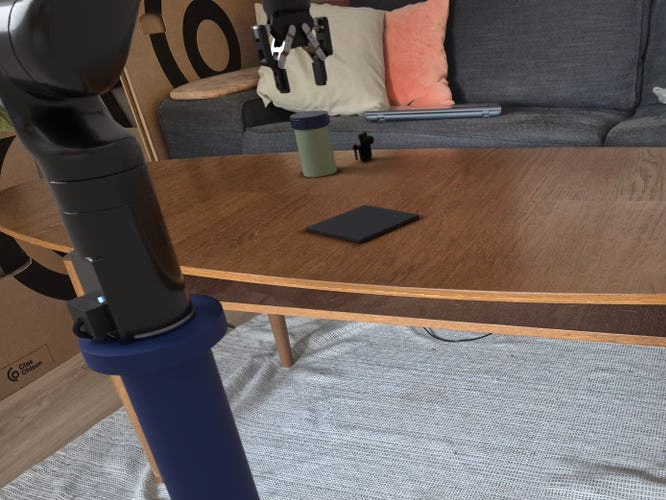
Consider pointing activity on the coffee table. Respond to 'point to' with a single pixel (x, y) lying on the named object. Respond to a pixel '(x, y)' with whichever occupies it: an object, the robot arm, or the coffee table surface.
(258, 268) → the coffee table surface
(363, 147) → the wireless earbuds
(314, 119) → the jar lid
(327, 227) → the coaster
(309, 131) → the jar
